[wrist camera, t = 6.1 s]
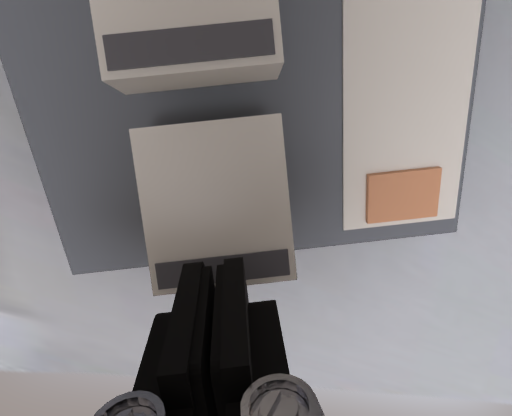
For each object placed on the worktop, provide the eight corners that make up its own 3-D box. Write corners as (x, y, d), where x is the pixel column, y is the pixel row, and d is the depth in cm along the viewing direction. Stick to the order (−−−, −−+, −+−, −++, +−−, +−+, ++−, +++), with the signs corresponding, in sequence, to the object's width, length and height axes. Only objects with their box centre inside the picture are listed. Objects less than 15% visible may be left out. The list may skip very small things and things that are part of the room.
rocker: (275, 120, 12) (281, 112, 10) (289, 263, 13) (297, 280, 11) (145, 133, 12) (127, 128, 10) (166, 277, 13) (152, 296, 11)
